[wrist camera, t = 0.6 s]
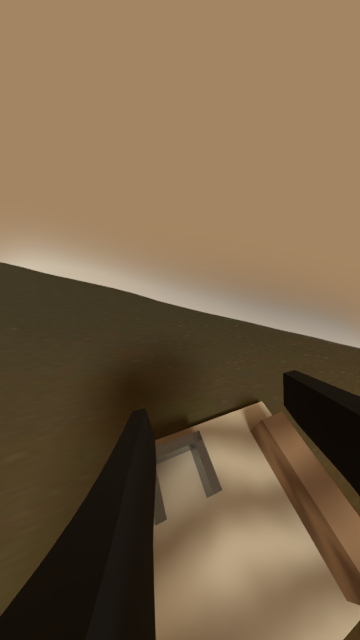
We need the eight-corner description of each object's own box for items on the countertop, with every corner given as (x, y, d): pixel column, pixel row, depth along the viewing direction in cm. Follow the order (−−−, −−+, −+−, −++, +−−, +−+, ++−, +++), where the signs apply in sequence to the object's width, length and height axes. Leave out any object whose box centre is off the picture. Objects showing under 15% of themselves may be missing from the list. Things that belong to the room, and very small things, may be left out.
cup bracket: (214, 494, 20) (222, 490, 18) (154, 526, 18) (155, 525, 16) (194, 438, 24) (199, 430, 22) (142, 459, 22) (142, 451, 20)
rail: (369, 577, 17) (409, 585, 14) (346, 601, 16) (386, 614, 13) (268, 423, 27) (281, 411, 24) (250, 431, 25) (262, 419, 23)
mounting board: (381, 584, 17) (388, 585, 17) (174, 821, 10) (176, 836, 10) (259, 403, 30) (262, 401, 29) (127, 452, 22) (127, 450, 22)
